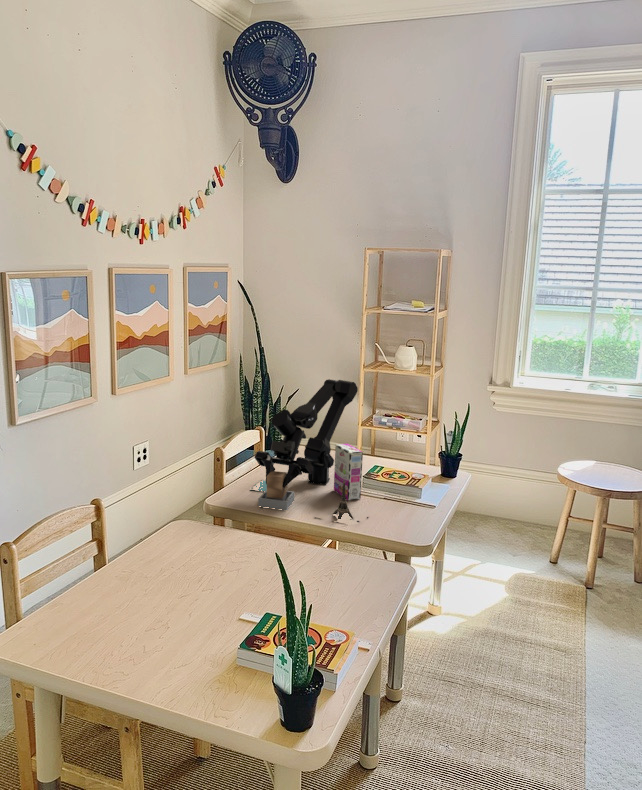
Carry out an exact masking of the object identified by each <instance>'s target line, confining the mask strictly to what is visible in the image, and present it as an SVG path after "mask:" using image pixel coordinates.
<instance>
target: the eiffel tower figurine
mask: <svg viewBox="0 0 642 790" xmlns="http://www.w3.org/2000/svg"><path fill="white" fill-rule="evenodd" d="M347 502H348V500H346V496H345V480H343V490H342V496H341V499H340V502H339V505H338V506H337V508H336V509H335V511H333V512H332V514H339V516H338V519H341V517H342V515H343V514H344V513H348V514H349V516H350V517H351V518H354V516H353V515H352V513H351V512H350V511H351V510H350V508H349V507H348V504H347Z"/></svg>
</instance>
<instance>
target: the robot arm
mask: <svg viewBox="0 0 642 790" xmlns="http://www.w3.org/2000/svg"><path fill="white" fill-rule="evenodd" d="M358 389H359V388H358V386H357V384H356V383H355V382H354V381H350V380H345V379H344V380H342V379H337V380H336V379H330V378H328V379H326V380H325V381H324V383H323V384H322V386H321V387H320V388H319V389H318V390H317V391H316V393H315V394H314V395H313V396H312V397H311V398H310V399H309V400H308V402H306V403H304V404H302V405H300V406H298V407H297V408H296V409H294V410H293V411H292V413H291V412H290V411H289V410H288V409H285V408H283V409H282V411H280V412H277V413H276V414H275V415H273V417H272V418H271V424H272V426H273V427H274V428H275V429H276V430H277V432H279V434H280V435H281V436H283V437H282V440H279V441H278V440H272V442H271V446H270V451H271V452H273V454H274V456H271V454H270V453H269V451H263V450H262V451H261V450H258V451H256V452H255V455H254V457H253V458H254V459H255V461H257V463H258V465H259V466H260V467H265V481H266V484H267V475H268V474H269V473H270V472H271V471H276V468H275V466H274V465H275V464H277V465H283V466H288V470H287V475H286V477H285V479H284V482H283V485H282V487H283V488H285V487H286V486H288V485H289V484H290V483H291V482H292V481H293V480H294V479H295V478H297V477H298V476H300V475H302V474H307V480H308V481H307V483H308V484H315V485H323V486H324V485H327V484H328V483H329V481H330V479H331V478H330V468H332V467H333V466H334V464H335V458H334V457H333V456H332V454H331V451H332V449H331V439H332V438H333V435H334V432H335V431H336V428H337V426H338V423H339V421H340V419H341V417H342V414H343V412H344V410H345V407H346V406H347V405H349V404H350V403H352V402H353V400H354V399H355V397H356V395H357V393H358ZM331 399H332V401H331V404H330V405H329V408H328V410H327V412H326V415H325V416H324V419H323V421H322V424H321V426H320V428H319V430H318V433H317V434H316V435H315V436H314V437H309V438H308V440H307V443H306V444H305V446H304V450H303V454H304V455H303V456H304V457H302V456H301V457H300V456H298V457H297V458H296V456H297V455H298V454H299V453H300V450H299V447H300V445H301V442H302V439H303V440H304V439H305V440H306V438H307V436H306V433H305V431H304V430H302V428H303V429H308V430H310V429H311V428H313V426H314V425H315V423H316V422H317V421H318V416H319V415H318V414H319V413H320V412H321V410H322V408H323V407H325V406H326V404H327V403H328V402H329V401H330V400H331ZM295 458H296V460H295Z"/></svg>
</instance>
